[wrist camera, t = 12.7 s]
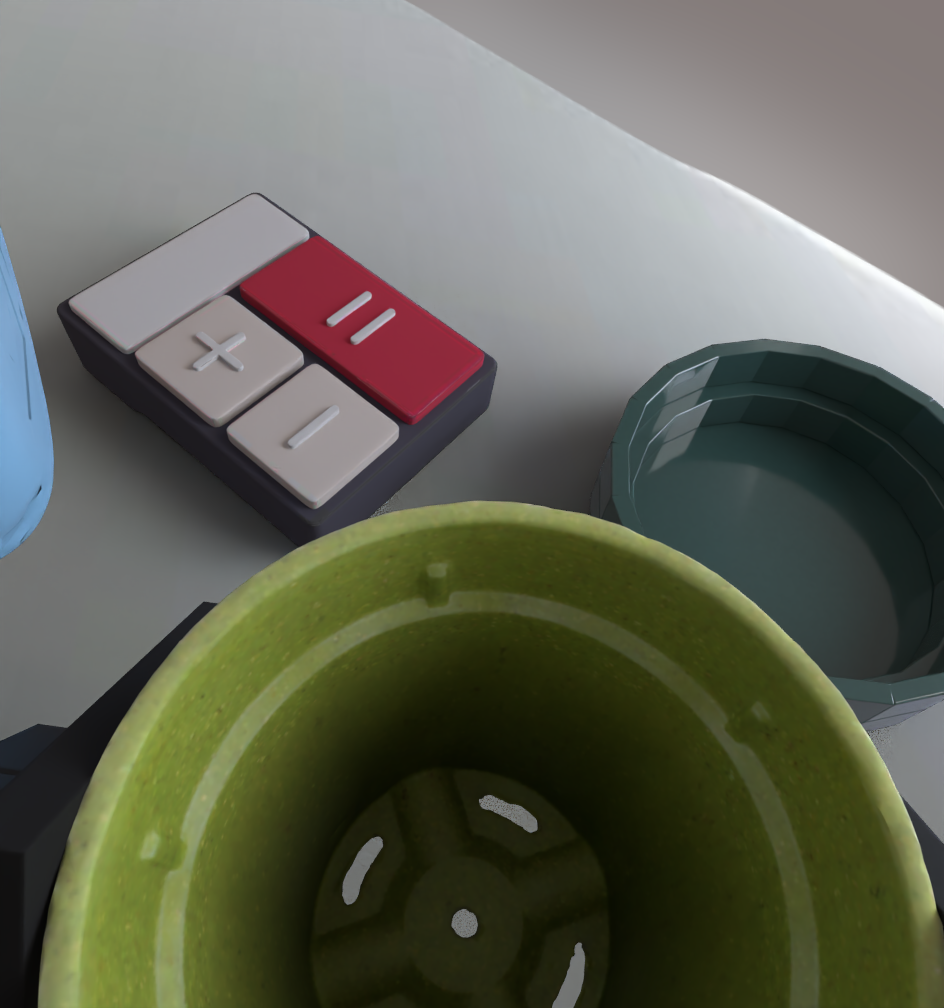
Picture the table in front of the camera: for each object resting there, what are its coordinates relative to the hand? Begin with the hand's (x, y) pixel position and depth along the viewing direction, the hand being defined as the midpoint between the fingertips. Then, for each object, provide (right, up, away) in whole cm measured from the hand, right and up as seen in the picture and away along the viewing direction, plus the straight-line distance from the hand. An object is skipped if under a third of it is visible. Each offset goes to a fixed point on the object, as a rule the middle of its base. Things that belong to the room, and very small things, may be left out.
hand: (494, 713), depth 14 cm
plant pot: (-1, -5, +2) cm, 5 cm away
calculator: (-9, +9, +21) cm, 24 cm away
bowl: (+12, +2, +18) cm, 21 cm away
